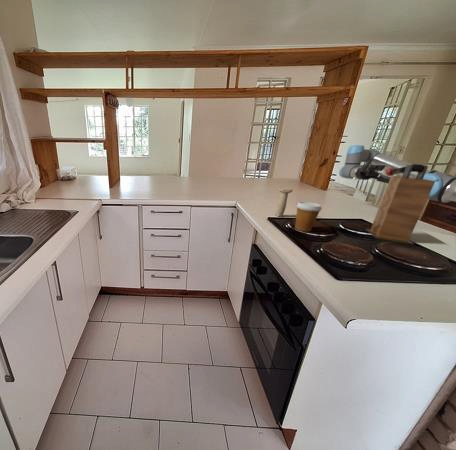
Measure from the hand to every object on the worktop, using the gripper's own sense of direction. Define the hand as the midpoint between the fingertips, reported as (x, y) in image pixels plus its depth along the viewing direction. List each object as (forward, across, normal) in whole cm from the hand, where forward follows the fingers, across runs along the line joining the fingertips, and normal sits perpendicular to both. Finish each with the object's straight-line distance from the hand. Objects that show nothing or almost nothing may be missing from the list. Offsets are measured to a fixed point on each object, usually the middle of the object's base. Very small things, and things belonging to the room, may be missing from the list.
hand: (394, 174), depth 114 cm
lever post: (+22, 0, -30) cm, 37 cm away
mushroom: (-2, +34, -44) cm, 55 cm away
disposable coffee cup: (+18, +30, -44) cm, 56 cm away
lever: (+16, +10, -4) cm, 19 cm away
